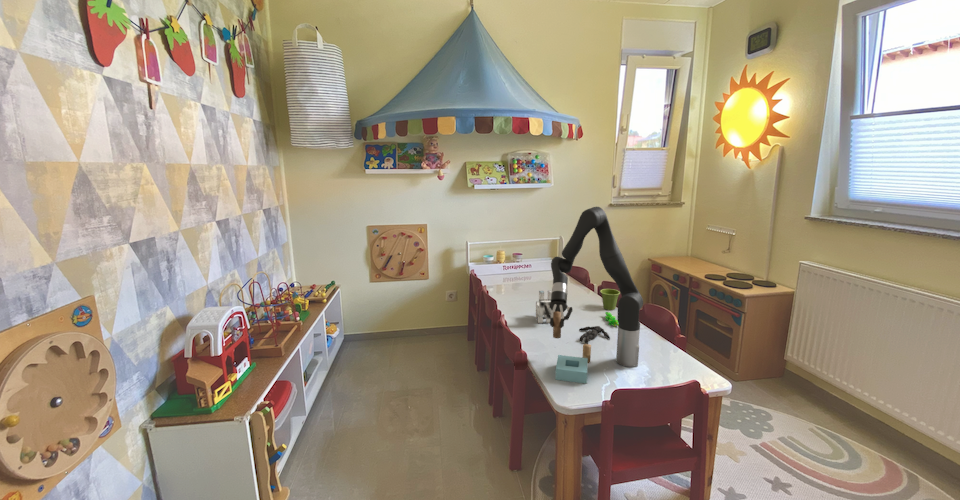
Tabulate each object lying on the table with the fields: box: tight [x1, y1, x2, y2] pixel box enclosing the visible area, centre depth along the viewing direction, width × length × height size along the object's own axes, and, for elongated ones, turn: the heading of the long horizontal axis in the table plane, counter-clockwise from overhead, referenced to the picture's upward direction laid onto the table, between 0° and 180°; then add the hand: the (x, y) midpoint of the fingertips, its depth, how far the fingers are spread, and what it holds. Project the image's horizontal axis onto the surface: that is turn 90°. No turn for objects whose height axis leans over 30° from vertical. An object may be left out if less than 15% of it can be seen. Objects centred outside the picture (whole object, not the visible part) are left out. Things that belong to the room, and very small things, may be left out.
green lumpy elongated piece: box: [604, 311, 618, 327], centre depth 227 cm, size 7×18×4 cm, turn 0°
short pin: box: [581, 343, 592, 364], centre depth 181 cm, size 4×4×8 cm
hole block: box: [555, 354, 589, 384], centre depth 171 cm, size 13×13×5 cm
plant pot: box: [599, 288, 621, 311], centre depth 248 cm, size 12×12×11 cm
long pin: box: [552, 311, 562, 339], centre depth 182 cm, size 4×4×12 cm
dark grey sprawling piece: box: [578, 325, 611, 344], centre depth 209 cm, size 18×4×20 cm
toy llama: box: [535, 290, 552, 325], centre depth 228 cm, size 8×18×20 cm, turn 1°
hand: (556, 326), depth 180 cm, fingers closed on long pin, 3 cm apart
